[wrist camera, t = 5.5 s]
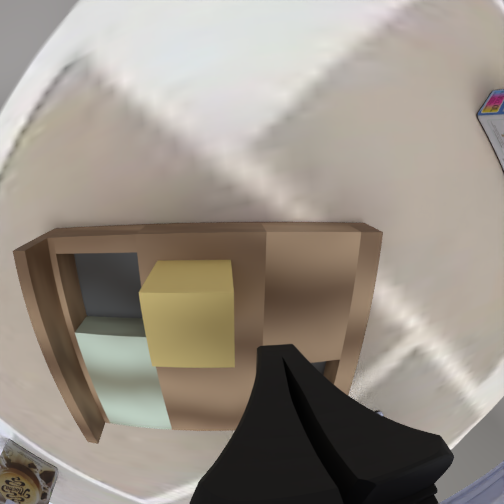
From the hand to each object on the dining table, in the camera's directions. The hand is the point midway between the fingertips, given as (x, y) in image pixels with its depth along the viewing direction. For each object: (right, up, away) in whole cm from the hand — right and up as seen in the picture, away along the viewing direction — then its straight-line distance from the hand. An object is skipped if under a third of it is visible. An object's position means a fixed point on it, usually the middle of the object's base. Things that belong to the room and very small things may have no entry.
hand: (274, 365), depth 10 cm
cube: (-4, +2, +6) cm, 7 cm away
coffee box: (-35, -28, +15) cm, 48 cm away
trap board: (-4, -2, +9) cm, 10 cm away
